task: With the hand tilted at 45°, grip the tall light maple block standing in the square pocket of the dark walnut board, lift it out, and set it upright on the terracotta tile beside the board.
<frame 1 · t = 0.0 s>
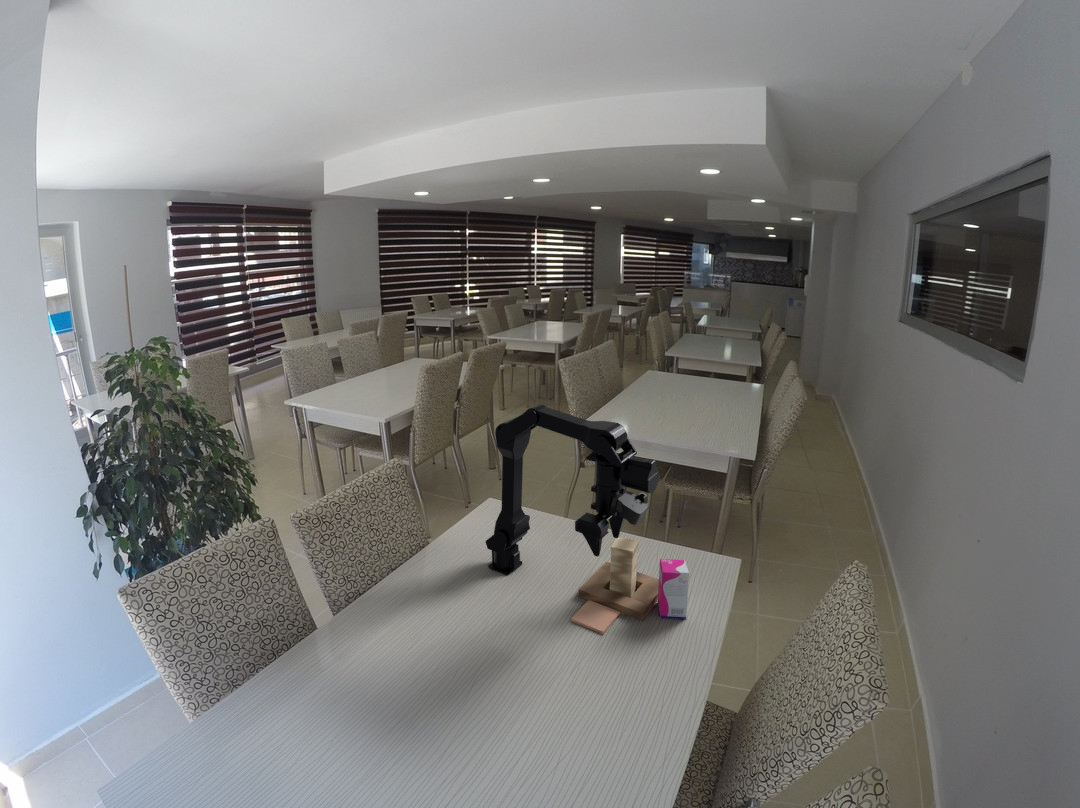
hand: (606, 546, 126), 15 cm above the table, tool pointing down, fingers open, 9 cm apart
supplement box: (671, 611, 128), on the table
pocket board: (622, 592, 134), on the table
maple block: (623, 568, 132), in the pocket board
terracotta tile: (595, 617, 125), on the table
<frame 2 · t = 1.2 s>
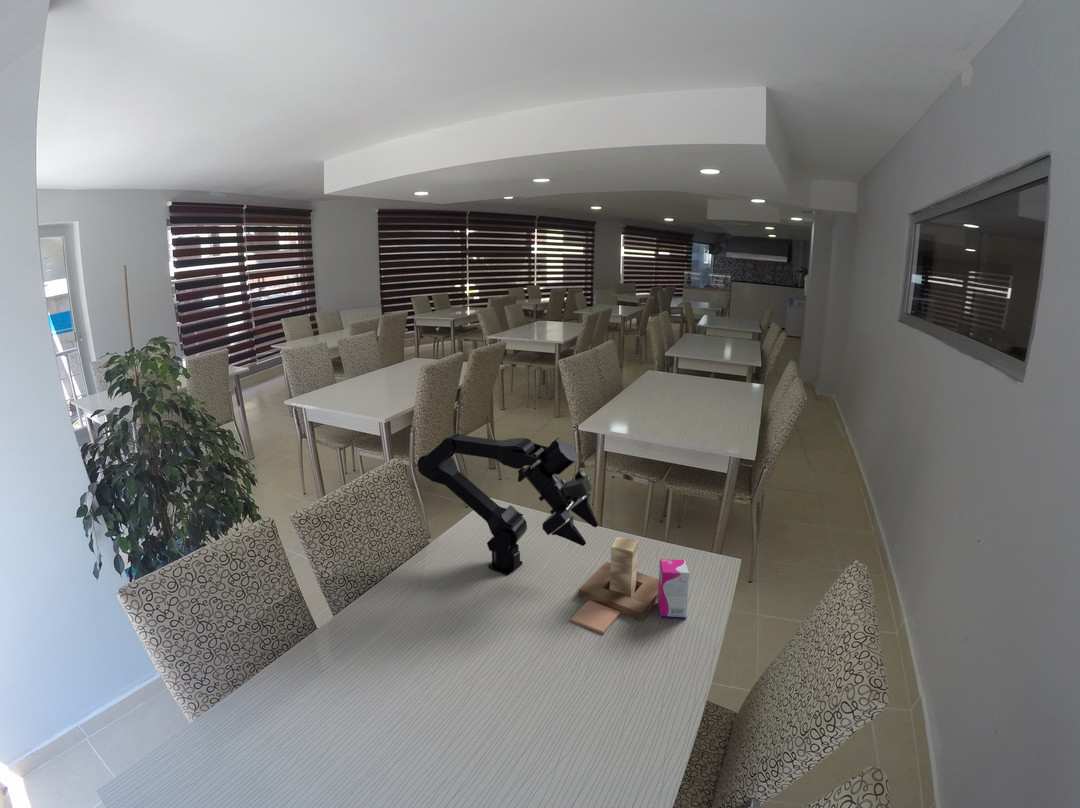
hand: (590, 535, 133), 13 cm above the table, tool tilted 45°, fingers open, 9 cm apart
nothing on the table moved.
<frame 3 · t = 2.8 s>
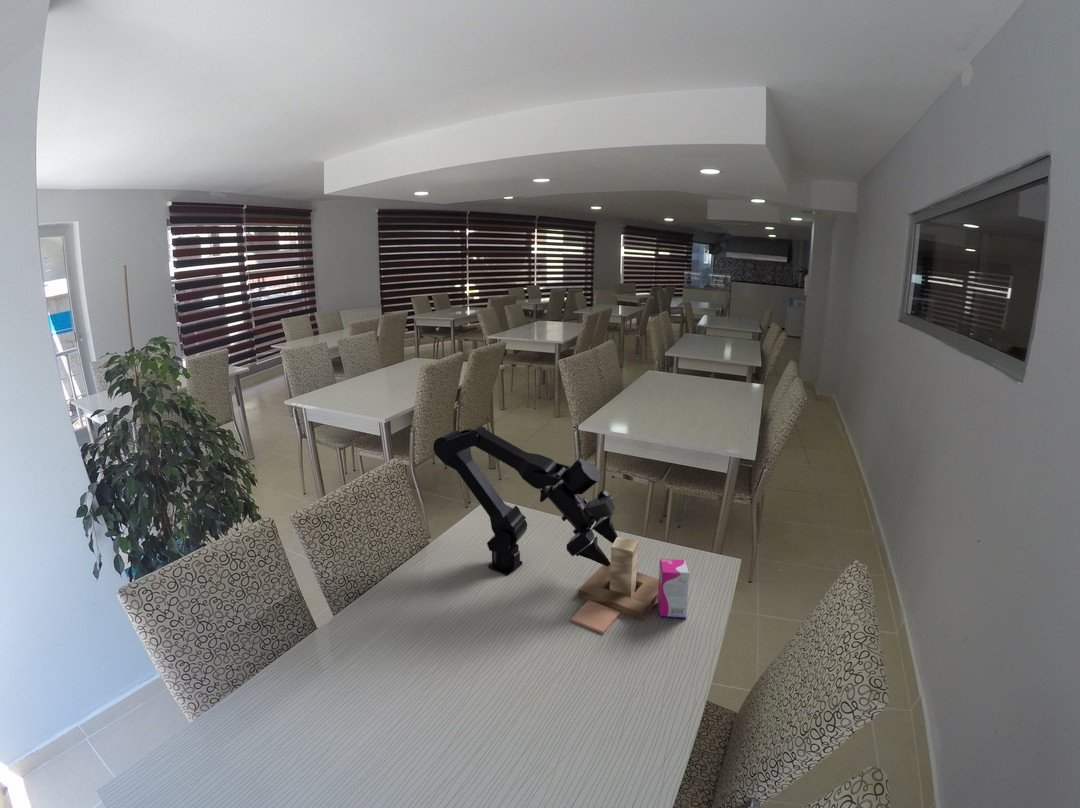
hand: (614, 555, 132), 10 cm above the table, tool tilted 45°, fingers open, 9 cm apart
nothing on the table moved.
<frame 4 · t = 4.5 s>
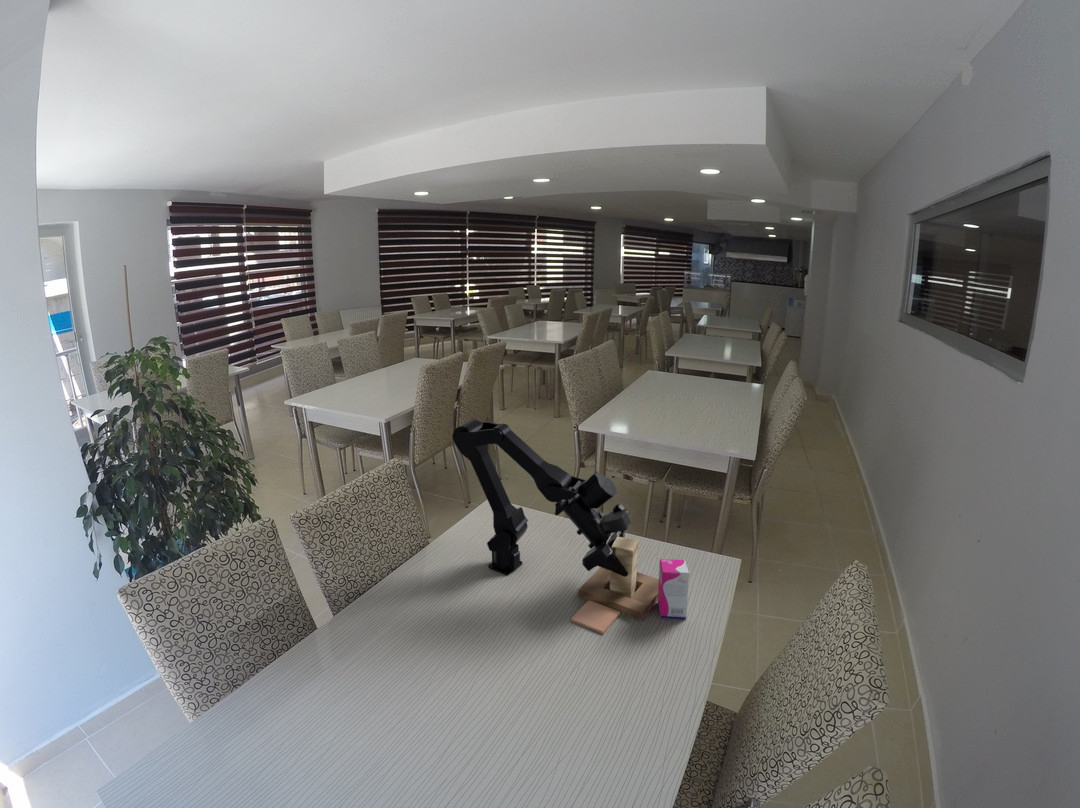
hand: (629, 569, 132), 7 cm above the table, tool tilted 45°, fingers closed on maple block, 5 cm apart
maple block: (623, 568, 132), in the pocket board, touching gripper
everything else where it was.
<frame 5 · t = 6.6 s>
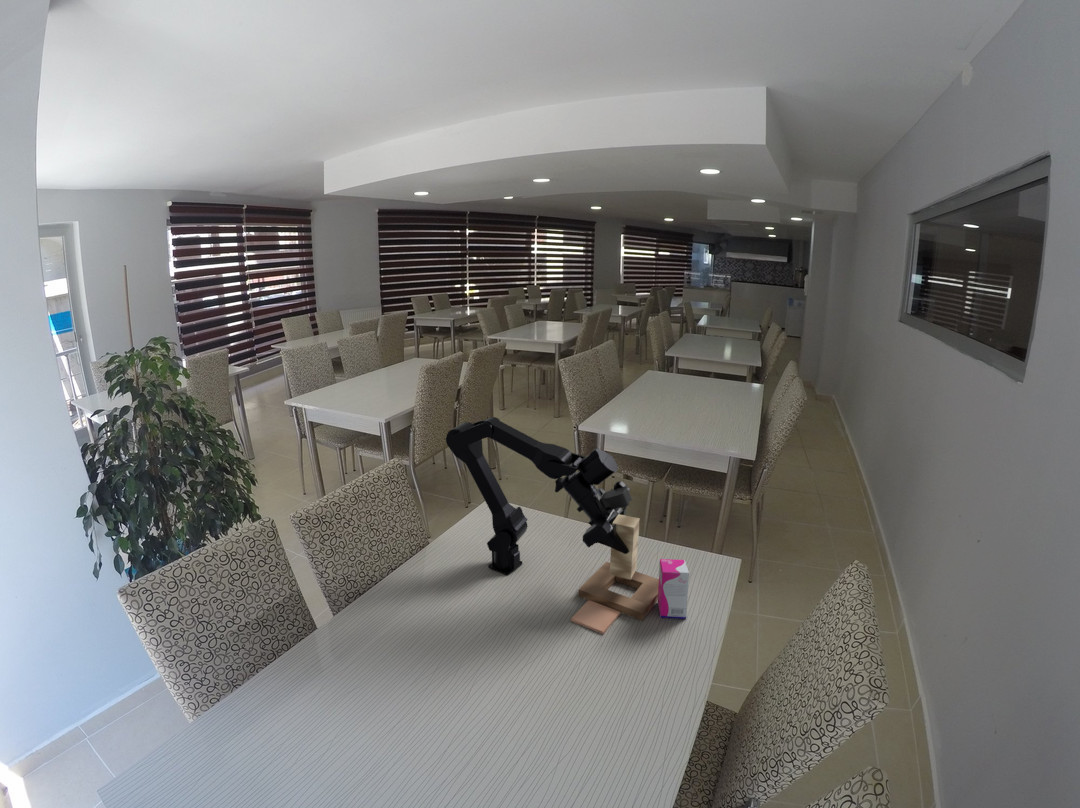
hand: (630, 547, 130), 12 cm above the table, tool tilted 45°, fingers closed on maple block, 5 cm apart
maple block: (624, 546, 131), point 12 cm above the table, touching gripper
everything else where it was.
when the fingers open (8 cm above the table, at t = 9.0 s): maple block drops 1 cm, resting on terracotta tile.
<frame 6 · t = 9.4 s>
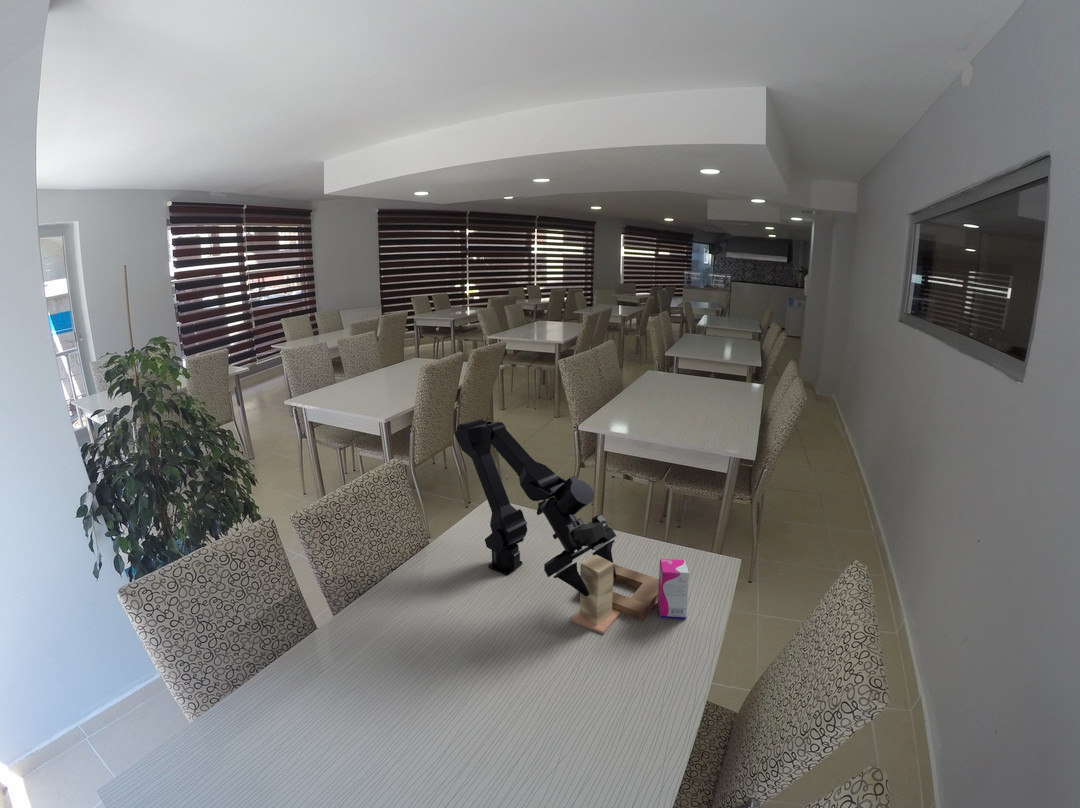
hand: (601, 586, 122), 9 cm above the table, tool tilted 45°, fingers open, 9 cm apart
maple block: (596, 589, 123), on the terracotta tile, point 7 cm above the table
everything else where it was.
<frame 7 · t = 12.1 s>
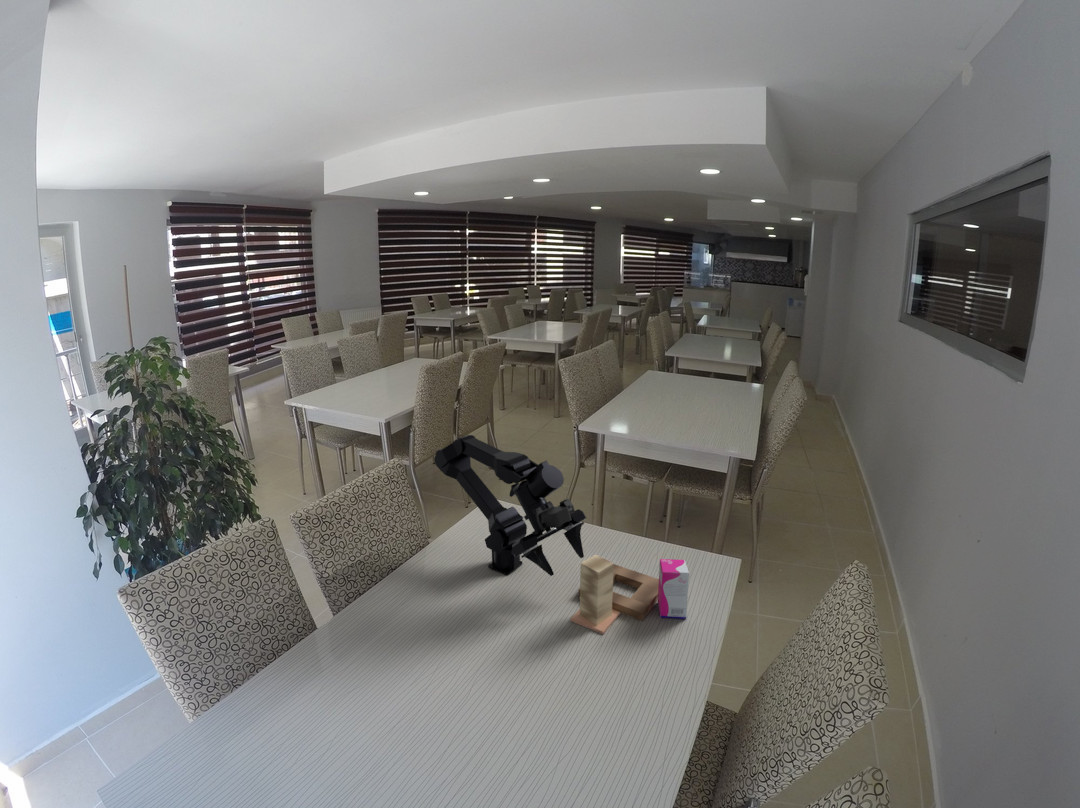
hand: (567, 566, 129), 9 cm above the table, tool tilted 40°, fingers open, 9 cm apart
nothing on the table moved.
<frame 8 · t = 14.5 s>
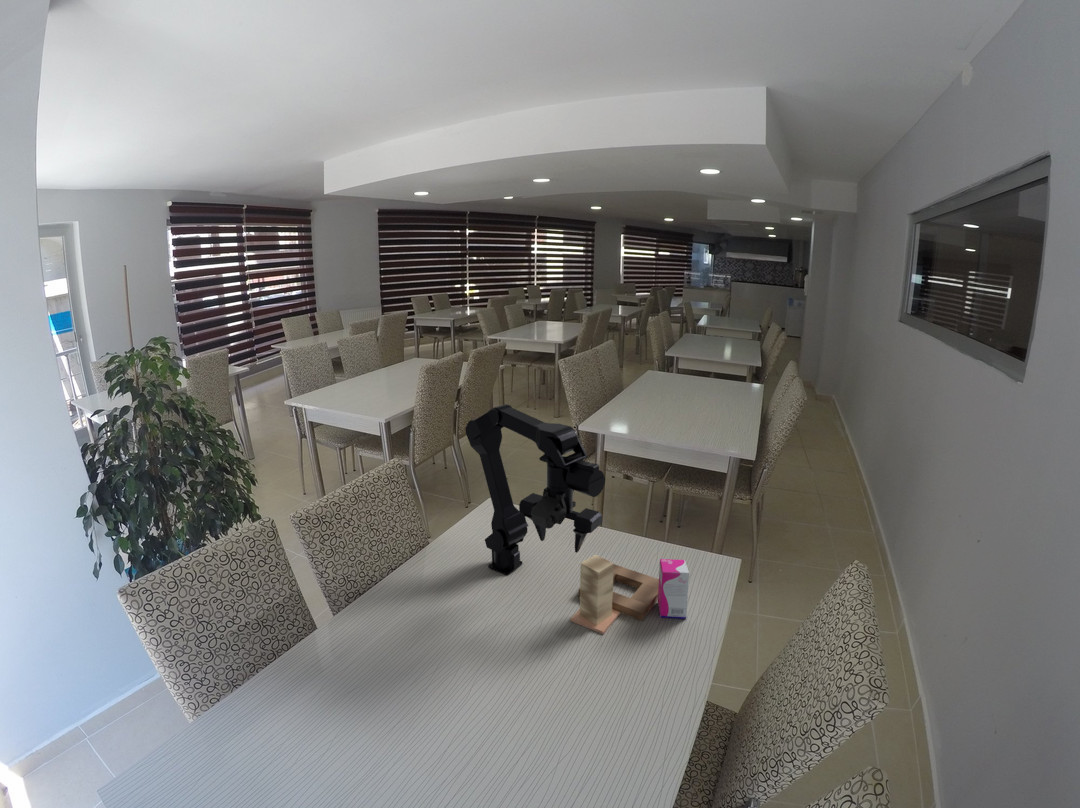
hand: (559, 546, 130), 13 cm above the table, tool pointing down, fingers open, 9 cm apart
nothing on the table moved.
at the end: maple block inside the target area (0.0 cm from its centre), point 7.1 cm above the table; maple block tilted 0°; the gripper is holding nothing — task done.
